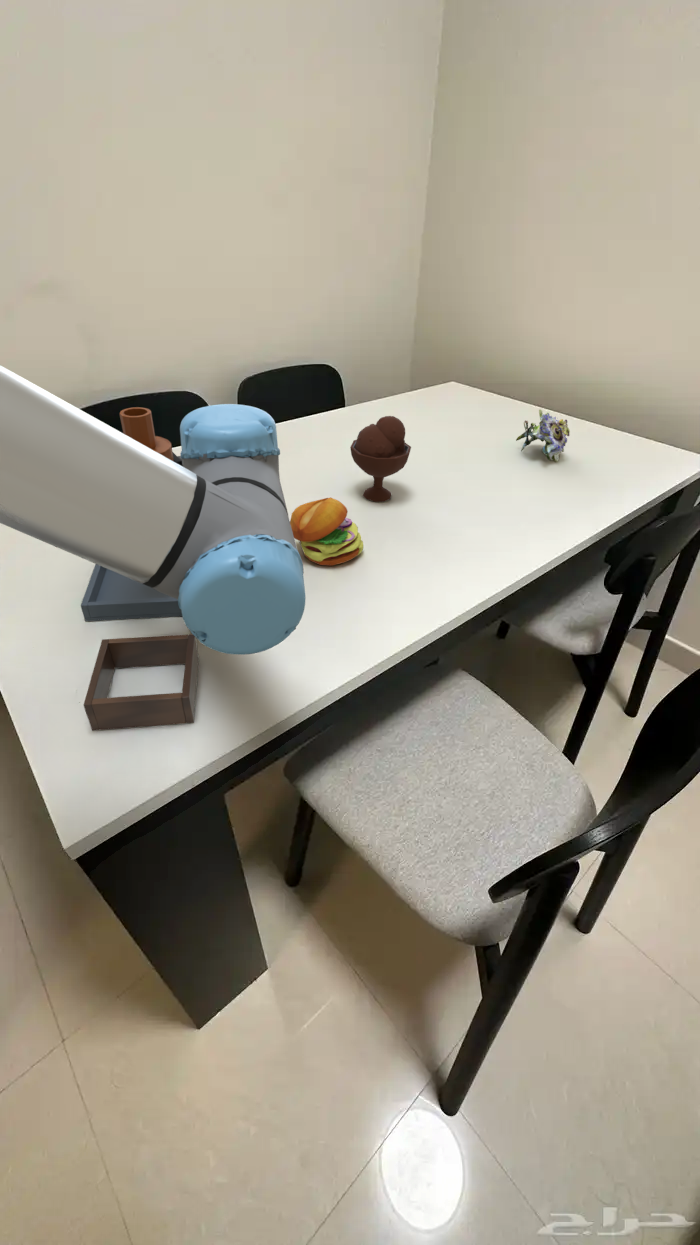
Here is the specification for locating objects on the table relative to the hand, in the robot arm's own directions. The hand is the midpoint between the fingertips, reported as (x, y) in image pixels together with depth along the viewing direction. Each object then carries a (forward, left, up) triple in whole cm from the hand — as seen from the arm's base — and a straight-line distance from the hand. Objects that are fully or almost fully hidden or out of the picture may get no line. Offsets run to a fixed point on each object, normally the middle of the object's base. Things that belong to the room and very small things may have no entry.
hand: (134, 459), depth 75 cm
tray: (+2, -3, -18) cm, 18 cm away
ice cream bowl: (+38, +24, -18) cm, 48 cm away
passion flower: (+78, +42, -18) cm, 90 cm away
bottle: (+2, -5, -9) cm, 11 cm away
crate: (+2, -25, -18) cm, 31 cm away
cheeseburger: (+26, +4, -18) cm, 32 cm away
